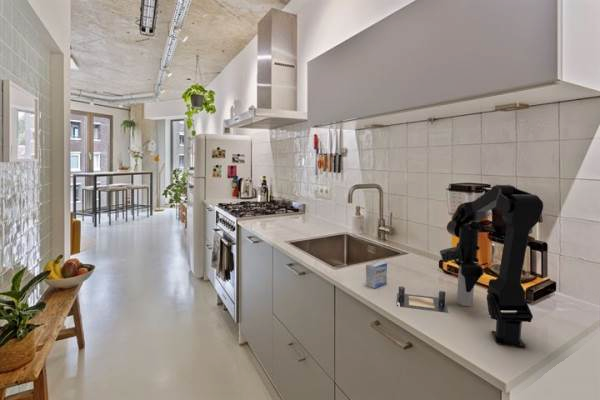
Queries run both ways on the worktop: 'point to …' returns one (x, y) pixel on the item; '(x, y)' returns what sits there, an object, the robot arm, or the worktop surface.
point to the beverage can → (464, 292)
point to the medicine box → (376, 274)
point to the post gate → (422, 301)
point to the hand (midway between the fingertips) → (465, 286)
